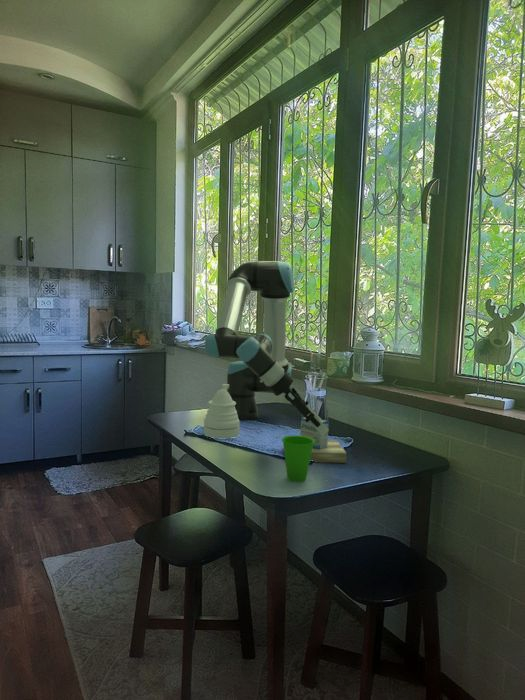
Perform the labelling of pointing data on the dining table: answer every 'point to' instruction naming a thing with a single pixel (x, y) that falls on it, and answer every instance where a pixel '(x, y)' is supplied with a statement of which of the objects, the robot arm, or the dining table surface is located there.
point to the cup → (297, 456)
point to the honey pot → (222, 416)
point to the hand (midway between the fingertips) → (321, 427)
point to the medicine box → (314, 433)
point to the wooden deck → (329, 453)
